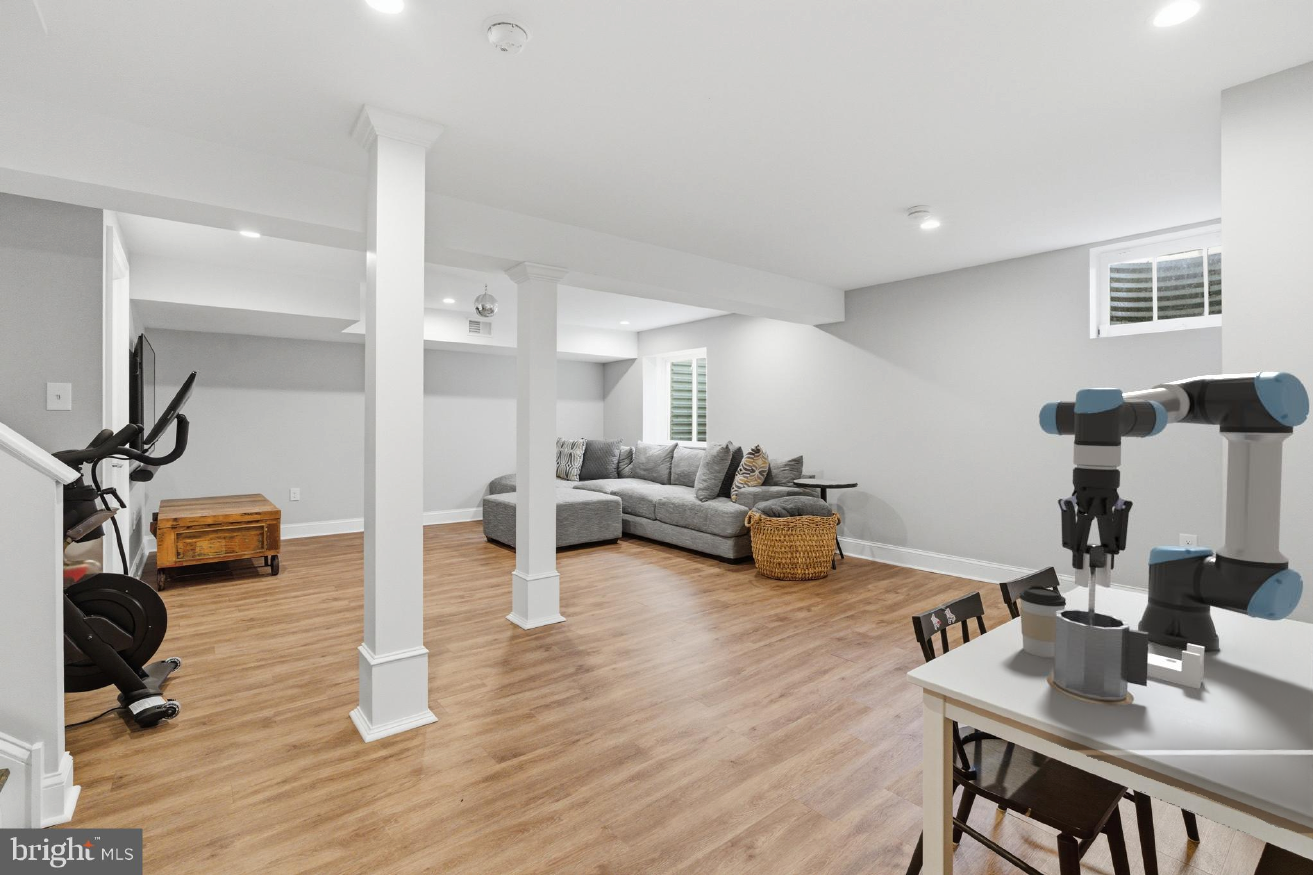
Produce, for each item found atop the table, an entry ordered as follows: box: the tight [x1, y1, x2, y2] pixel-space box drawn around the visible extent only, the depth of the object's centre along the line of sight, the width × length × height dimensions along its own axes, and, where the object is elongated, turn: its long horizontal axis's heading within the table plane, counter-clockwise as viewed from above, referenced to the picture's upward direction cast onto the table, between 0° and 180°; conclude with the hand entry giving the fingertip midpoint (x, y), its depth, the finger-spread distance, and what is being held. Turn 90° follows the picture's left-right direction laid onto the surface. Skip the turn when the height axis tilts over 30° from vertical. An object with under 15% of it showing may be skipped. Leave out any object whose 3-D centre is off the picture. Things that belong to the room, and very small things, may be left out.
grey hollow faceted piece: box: [1053, 608, 1149, 702], centre depth 119 cm, size 13×12×14 cm
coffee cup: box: [1019, 585, 1067, 658], centre depth 138 cm, size 9×9×15 cm
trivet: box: [1046, 674, 1135, 706], centre depth 119 cm, size 14×14×1 cm
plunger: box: [1085, 543, 1105, 626], centre depth 119 cm, size 8×8×20 cm
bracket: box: [1147, 643, 1205, 689], centre depth 127 cm, size 13×7×8 cm, turn 41°
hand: (1092, 585), depth 119 cm, fingers closed on plunger, 4 cm apart
